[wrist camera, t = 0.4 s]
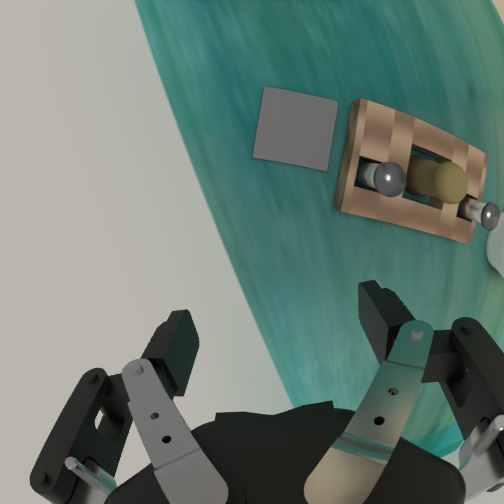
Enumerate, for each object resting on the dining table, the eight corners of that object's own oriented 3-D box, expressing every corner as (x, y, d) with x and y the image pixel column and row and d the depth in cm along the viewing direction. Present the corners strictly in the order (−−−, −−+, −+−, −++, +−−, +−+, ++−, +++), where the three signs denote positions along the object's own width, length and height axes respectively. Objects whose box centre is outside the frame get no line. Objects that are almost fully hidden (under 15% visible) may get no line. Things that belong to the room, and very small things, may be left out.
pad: (264, 87, 32) (264, 86, 31) (337, 102, 32) (338, 101, 31) (252, 157, 35) (252, 157, 34) (325, 171, 35) (326, 171, 35)
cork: (434, 165, 33) (479, 173, 23) (423, 200, 35) (465, 217, 25) (405, 148, 33) (448, 150, 23) (393, 185, 35) (433, 198, 25)
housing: (351, 103, 31) (360, 97, 28) (473, 153, 32) (488, 155, 28) (333, 205, 37) (340, 211, 33) (456, 236, 37) (469, 244, 33)
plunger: (355, 156, 32) (379, 157, 25) (381, 163, 32) (409, 167, 25) (350, 184, 33) (372, 192, 26) (375, 190, 33) (402, 201, 26)
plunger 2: (455, 190, 32) (488, 200, 25) (470, 196, 32) (502, 207, 25) (450, 213, 34) (481, 227, 26) (465, 218, 34) (495, 233, 26)
